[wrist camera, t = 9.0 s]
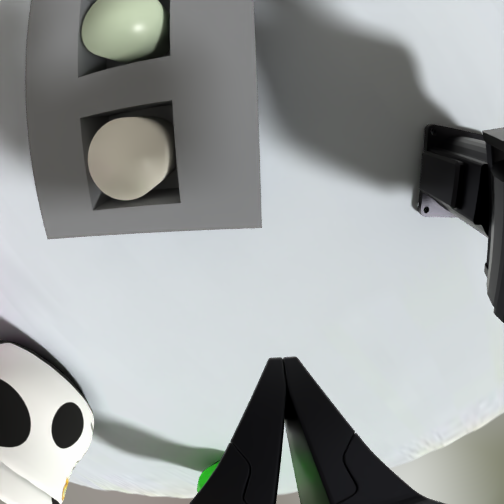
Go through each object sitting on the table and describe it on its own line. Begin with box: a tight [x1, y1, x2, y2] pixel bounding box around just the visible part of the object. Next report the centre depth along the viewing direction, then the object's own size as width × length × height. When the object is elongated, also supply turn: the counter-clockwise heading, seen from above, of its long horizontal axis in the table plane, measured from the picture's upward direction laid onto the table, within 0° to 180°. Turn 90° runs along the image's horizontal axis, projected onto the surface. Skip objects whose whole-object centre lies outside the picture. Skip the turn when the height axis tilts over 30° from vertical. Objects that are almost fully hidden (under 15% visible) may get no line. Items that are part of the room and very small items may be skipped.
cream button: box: [88, 116, 177, 200], centre depth 15 cm, size 4×4×4 cm
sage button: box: [82, 0, 170, 64], centre depth 12 cm, size 4×4×4 cm
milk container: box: [0, 341, 94, 504], centre depth 20 cm, size 17×17×18 cm
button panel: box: [25, 0, 262, 239], centre depth 12 cm, size 13×23×4 cm, turn 2°
